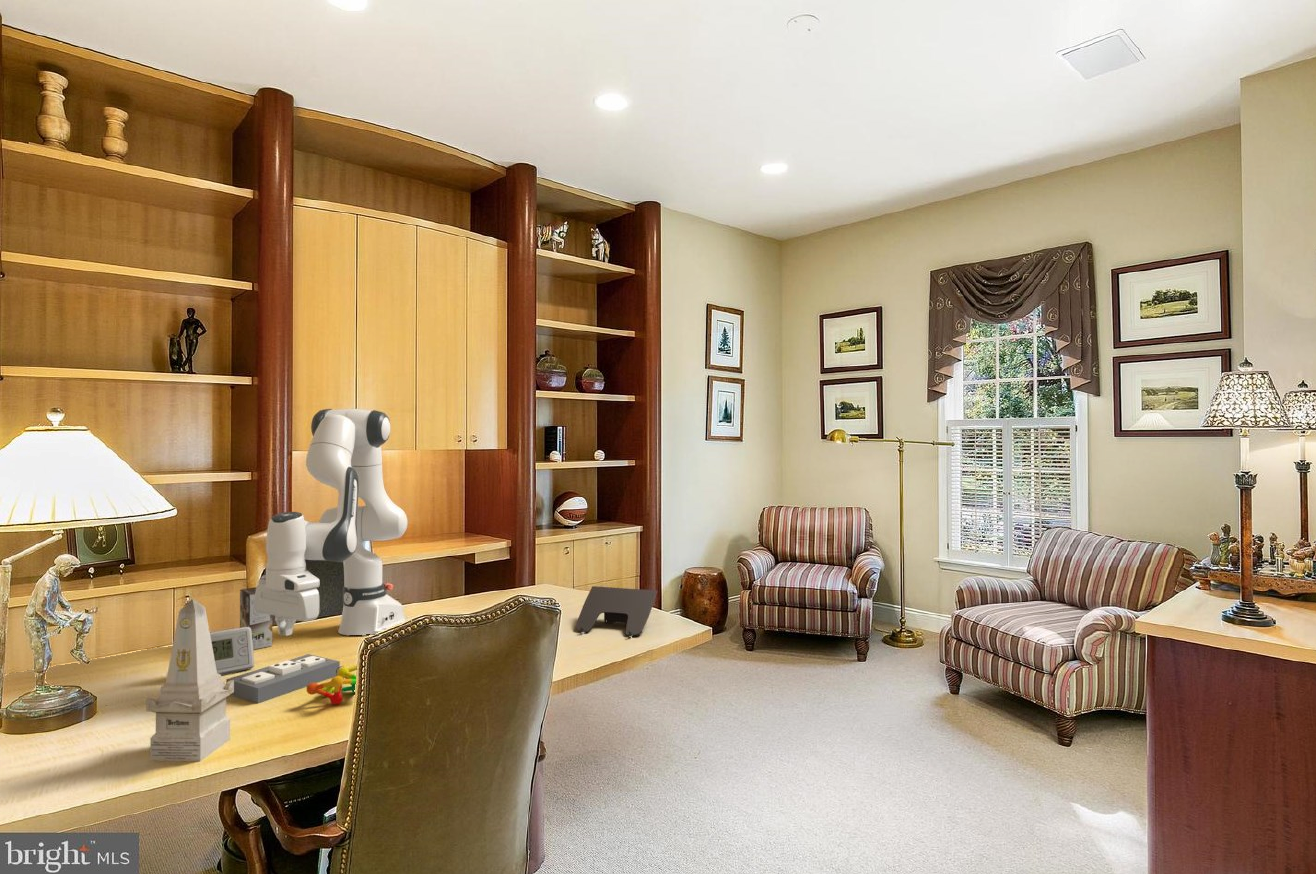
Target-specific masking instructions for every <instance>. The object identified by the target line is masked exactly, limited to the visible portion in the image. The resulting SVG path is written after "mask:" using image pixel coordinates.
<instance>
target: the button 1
mask: <svg viewBox="0 0 1316 874" xmlns="http://www.w3.org/2000/svg"><path fill="white" fill-rule="evenodd" d="M273 678H275V675H272V674H269V673H265V672H259V673H255V674H252V675H249V676H246V677H243V678H242V681H244V682H247V683H251V684H257V683H260V682H263V681H266V680H269V679H273Z"/></svg>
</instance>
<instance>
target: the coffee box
mask: <svg viewBox="0 0 1316 874" xmlns="http://www.w3.org/2000/svg"><path fill="white" fill-rule="evenodd" d="M256 587H257V586H256ZM256 587H248V588H243V589H239V628H243V627H250V628H251V631H252V642H253V651H254V650H257V649H263V648H268V647H272V646H273V615H268V614H263V613H258V612H256V611H255V608H254V600H255V592H256Z"/></svg>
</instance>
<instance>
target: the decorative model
mask: <svg viewBox="0 0 1316 874" xmlns="http://www.w3.org/2000/svg"><path fill="white" fill-rule="evenodd" d="M357 665H358V664H357ZM357 665H354V666H350V667H347V666H345V665H341V666H340V667H339V668H338V669H337V670H336V674H337V675H336V676H335V677H332V678H331V679H330V681H327V682H323V683H320V684H318V683H310V684H309V685H308V686H306V692H307V694H309V695H316V694H318V695H321V696H322V697H324V698H328V699H330V703H331V704H332V705H334V706H339V705H340V704H341V703H342V702H343V700H344V699H343V698H344V697H343V694H341V693H342V692H352V693H353V694H355V693H354V690H355V684H356V675H357V674H355V673H352V672H355V671H358V670H357ZM343 685H349V686H343Z"/></svg>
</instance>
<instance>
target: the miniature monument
mask: <svg viewBox="0 0 1316 874" xmlns="http://www.w3.org/2000/svg"><path fill="white" fill-rule="evenodd" d="M206 609H207V608H206V607H205V606H204V605H203V604H201V603H200V602H198V601H197V600H196V599H194V598H191V599H190V600H189V601H188V602H187V603H186V604H185V605H184V606H183V607H182V608H181V609H180V610H179V611H178V616H177V620H176V627H175V631H174V637H173V643H172V646H171V647H172V648H171V652H170V653H171V654H170V659H169V664H168V671H167V675H166V680H165V683H164V684H163V685H162V686H161V687H160V692H159V693H158V694H157V698H152V697H147V698H146V705H145V708H146V712H147V713H155V733H154V734H153V735H152V736H151V737H150V739H149V740H150V742H149V743H150V745H149V746H150V748H149V749H150V752H149V753H150V754H149V755H150V757H149V759H150V760H162V761H163V762H165V760H169V761H168V762H178V761H177V760H180V761H179V762H201V761H203V760H204V759H205V758H207V757H208V756H209V755H211V754H213V753H214V752H215V751H217V750H218V749H219V748H220V747H222V746H223V745H225V744H226V743H228V742H229V741H230V740H231V718H230V717H228V716H227V714H226V713H227V709H226V708H227V706H226V704H227V697H228V696H231V695H230V694H231V693H233V692H234V680H230V681H228V682H227V683H225V681H224V679H222V675H220V674H218V673H217V670H216V665H215V659H214V653H213V648H212V642H211V637H210V632H211V631H210V627H209V622H208V621H209V620H208V616H207V611H206ZM224 743H225V744H224ZM150 760H149V761H150Z"/></svg>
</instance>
